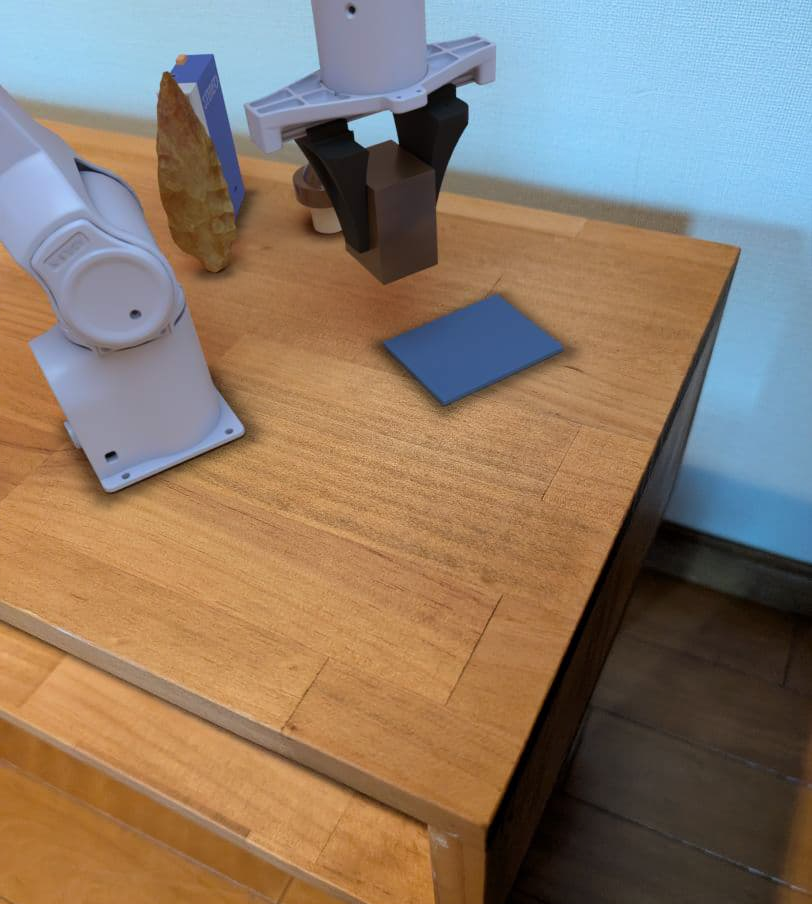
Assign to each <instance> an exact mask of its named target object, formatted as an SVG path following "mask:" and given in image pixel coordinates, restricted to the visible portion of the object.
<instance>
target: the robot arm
mask: <svg viewBox="0 0 812 904" xmlns="http://www.w3.org/2000/svg"><path fill="white" fill-rule="evenodd" d="M310 5H311V10H312V20H313V26H314V32H315V34H314V35H315V42H316V49H317V57H318V64H319V65H318V66H319V69H317V70H315V71H312V72H311V73H309V74H307V75H306V76H303V77H301V78H300V79H298V80H295V81H294V82H292V83H290V84H288V85H286V86H284V87H282V88H280V89H278V90H276V91H274V92H272V93H270V94H268V95H266V96H262V97H260V98H258V99H255V100H251V101H249V102H248V101H247V102H245V103H244V104H243V109H244V113H245V119H246V123H247V128H248V133H249V137H250V141H251V142H252V143H253V144H254V145H255V147H257V148H258V149H259V150H260V151H262V152H263V153H264V154H265V155H270V154H272V153H276V152H280V151H281V150H283V148H284V144H285V143H288V142H291V141H294V142H295V144H296V145H297V147H298V148H299V149H300V151H301V152H302V154H303V156H304V157H305V158H306V160H307V162H308V161H309V163H310V164H311V166H312V167H313V169H314V171H315V172H316V174H317V176H318V178H319V179H320V181H321V183H322V185H323V187H324V189H325V191H326V193H327V195H328V197H329V199H330V201H331V203H332V205H333V208H334V210H335V213H336V215H337V218H338V220H339V223H340V226H341V229H342V230H341V232H342V235H343V238H344V242H345V241H346V242H347V243H348V244H349V245H350V246H351V247H352V248H353V249H354V250H356V251H357V252H358V253H360V254H361V253H364V252H367V251H369V223H368V215H367V207H366V177H367V166H368V159H369V153H370V152H369V151H368V150H367V149H365V148H366V147H364V146H362V145H361V144H360V143H359V142H357V141H356V139H355V132H354V130H350V129H349V123H351V122H353V121H357V120H360V119H363V118H366V117H369V116H373V115H376V114H379V113H382V112H386V111H388V112H391V113H392V117H393V121H394V127H395V131H396V136H397V141H398V142H397V143H398V144H399V145H400V146H402V147H403V148H404V149H406V150H407V151H409V152H410V153H412V154H413V155H414V156H416V157H417V158H419V159H420V160H422V161H423V162H424V163H426V164H427V165H429V166H430V167H432V168H433V169H434V170H435V192H436V207H437V205H438V202H439V201H438V200H439V197H440V192H441V188H442V184H443V181H444V178H445V175H446V171H447V169H448V166H449V163H450V161H451V158H452V156H453V154H454V151H455V149H456V147H457V145H458V143H459V141H460V139H461V138H462V135H463V134H464V132H465V130H466V129H467V127H468V125H469V119H470V115H469V114H470V105H469V104H468V103H467V102H466V101H464V100H463V99H461V98H459V97H458V96H457V89H458V88H460V87H464V86H466V85H469V84H473V83H474V84H476V85H478V86H484V85H487V84H491V83H494V82H495V81H496V75H497V74H496V72H497V71H496V70H497V69H496V68H497V67H496V66H497V44H496V43H495V42H493V41H491V40H489V39H487V38H484V37H482V36H481V35H479V34H474V35H469V36H466V37H462V38H461V37H460V38H456V39H452V40H445V41H438V42H432V43H431V42H430V43H427V23H426V22H427V20H426V17H427V16H426V0H310ZM0 243H1V244H2V245H3V247H4V248H5V250H6V251H7V252H8V254H9V255H10V257H11V258H12V259H13V261H14V262H15V263H16V264H17V266H19V267H20V268H21V269H22V270H23V271H24V272H25V273H26V274H28V275H29V276H31V278H33V280H35V281H36V282H37V284H39V286H40V287H41V288H42V290H43V292H44V293H45V294H46V297H47V299H48V301H49V304H50V306H51V308H52V311H53V314H54V316H55V317H56V321H57V322H56V323H55V324H54V325H52V326H51V327H50V328H49V329H47V330H46V331H44V332H43V333H41V334H39V335H38V336H35V337H33V338H32V339H31V340H29V341H28V342H27V344H28V346H29V348H30V350H31V352H32V354H33V356H34V358H35V360H36V362H37V364H38V366H39V368H40V370H41V372H42V374H43V375H44V377H45V378H44V379H46V382H47V383H48V385H49V387H50V390H51V391H52V393H53V395H54V397H55V399H56V401H57V403H58V405H59V406H60V408H61V410H62V412H63V415H65V418H66V421H64V422H63V425H64V427H65V429H66V431H67V433H68V435H69V437H70V439H71V441H72V443H73V445H74V447H75V449H76V450H79V449H82V450H83V452H84V454H85V455H86V458H87V459H88V461H89V463H90V464H91V467H92V469H93V471H94V473H95V474H96V476H97V478H98V480H99V482H100V484H101V486H102V488H103V490H104V491H105V492H107V493H113V492H114V493H115V492H117V491H120V490H121V489H124V488H125V487H129V486H131V485H133V484H135V483H137V482H140V481H142V480H145V479H146V478H149V477H152V476H153V475H156V474H158V473H160V472H163V471H165V470H167V469H169V468H172V467H174V466H176V465H179V464H181V463H183V462H185V461H188V460H190V459H192V458H195V457H197V456H199V455H202V454H204V453H206V452H208V451H211V450H213V449H215V448H218V447H220V446H223V445H225V444H227V443H229V442H231V441H233V440H236V439H238V438H241V437H242V436H244V434H245V433H246V430H245V426H244V425H243V423H242V422H241V421H240V419H239V418H238V416H237V415H236V414H235V412H234V411H233V410H232V408H231V407H230V405H229V404H228V402H227V401H226V400H225V398H224V397H223V396H222V394H221V392H219V390H218V389H217V387H216V386H215V384H214V382H213V378H212V376H211V373H210V369H209V366H208V363H207V361H206V357H205V354H204V351H203V349H202V348H203V347H202V345H201V342H200V338H199V335H198V331H197V329H196V326H195V323H194V319H193V317H192V313H191V311H190V308H189V305H188V301H187V298H186V296H185V292H184V289H183V286H182V285H181V283H180V282H179V280H178V279H177V276H176V274H175V271H174V269H173V267H172V265H171V264H170V262H169V261H168V259H167V257H166V256H165V255H164V254H163V252H162V251H161V249H160V247H159V244H158V243H157V240H156V237H155V236H154V234H153V231H152V230H151V227H150V224H148V221H147V219H146V216H145V211H144V207H143V205H142V203H141V200H140V198H139V196H138V195H137V193H136V191H135V190H134V188H133V187H132V186H131V185H130V184H129V183H128V182H127V181H126V180H125V179H124V178H123V177H121V176H120V175H119V174H116V173H115V172H114V171H111V170H110V169H108V168H105V167H103V166H100V165H97V164H95V163H92V162H91V161H89V160H87V159H85V158H84V157H83V156H81V155H80V154H78V153H77V152H76V151H75V150H74V149H73V148H72V147H71V145H69V143H67V142H66V141H65V139H63V138H62V137H61V136H60V135H59V134H58V133H56V132H55V131H53V130H52V129H51V128H48V127H46V126H45V125H43V124H42V123H40V122H38V121H36V119H34V118H33V117H32V116H31V115H30V114H29V113H28V112H27V111H26V110H25V108H24V107H22V105H21V104H20V103H19V102H18V101H17V99H15V98H14V97H13V96H12V95H11V94H10V93H9V92H8V91H7V90H6V89H5V88H4V87H3V86H2V84H0Z"/></svg>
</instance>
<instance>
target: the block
mask: <svg viewBox="0 0 812 904" xmlns="http://www.w3.org/2000/svg"><path fill="white" fill-rule="evenodd" d="M364 148H365V149H367V150H368V151H369V152H370V153H369V159H368V166H367V177H366V207H367V215H368V223H369V251H367V252H364V253H361V254H360V253H358V252H357V251H356V250H354V249H353V248H352V247H351V246H350V245H349V244H348V243H347V242H346V241H345V240H344V245H345V251H346V252H347V253H348V254H349V255H350V256H351V257H352V258H353V259H355V261H357V263H359V264H360V265H361V266H362V267H363V268H364V269H365V270H366V271H367V272H368V273H370V275H372V276H373V277H374V278H375V279H376V280H377V281H378V282H379V283H380V284H381V285H383V286H386V285H389V284H391V283H394V282H397V281H399V280H401V279H405V278H406V277H409V276H413V275H414V274H416V273H419V272H422V271H425V270H427V269H430V268H432V267H435V266H437V265H439V252H438V251H439V250H438V249H439V247H438V223H437V221H438V220H437V206H436V192H435V170H434V169H433V168H432V167H430V166H429V165H427V164H426V163H424V162H423V161H422V160H420V159H419V158H417V157H416V156H414V155H413V154H412V153H410V152H409V151H407V150H406V149H404V148H403V147H402V146H400V145H399V143H398V142H396V141H394V140H393V139H387V140H385V141H382V142H379V143H376V144H372V145H370V146H367V147H364Z"/></svg>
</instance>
